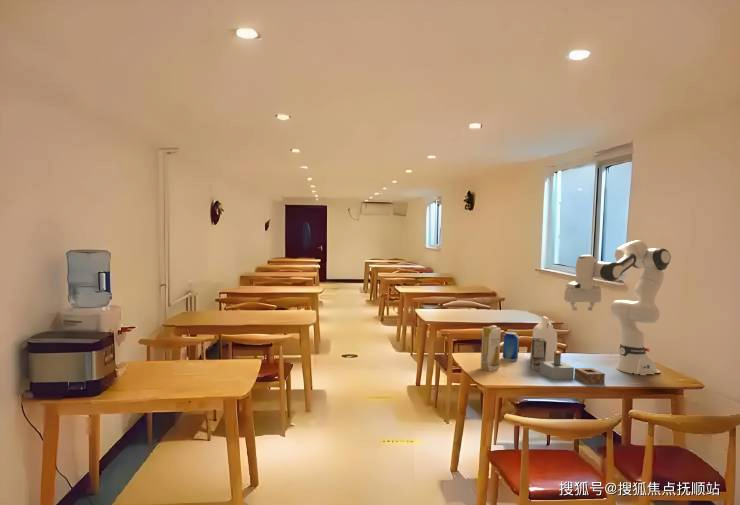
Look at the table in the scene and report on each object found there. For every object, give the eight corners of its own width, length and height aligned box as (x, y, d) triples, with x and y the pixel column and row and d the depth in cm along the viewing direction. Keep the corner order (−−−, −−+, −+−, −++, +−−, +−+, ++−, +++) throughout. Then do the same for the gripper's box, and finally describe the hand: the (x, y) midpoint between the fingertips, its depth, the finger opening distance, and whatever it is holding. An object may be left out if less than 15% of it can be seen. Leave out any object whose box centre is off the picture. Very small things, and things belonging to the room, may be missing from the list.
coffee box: (544, 371, 254) (546, 342, 254) (532, 370, 256) (534, 341, 255) (542, 366, 263) (543, 338, 263) (530, 365, 265) (531, 337, 264)
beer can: (519, 359, 277) (520, 332, 276) (515, 362, 270) (516, 335, 269) (504, 357, 282) (506, 330, 281) (500, 359, 274) (502, 332, 274)
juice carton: (490, 372, 249) (492, 327, 248) (478, 368, 255) (480, 324, 254) (500, 369, 255) (503, 325, 254) (488, 365, 261) (491, 323, 260)
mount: (591, 377, 247) (591, 367, 247) (604, 383, 237) (604, 373, 237) (574, 377, 245) (574, 368, 245) (586, 384, 235) (587, 374, 235)
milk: (530, 358, 282) (532, 315, 281) (549, 358, 281) (552, 316, 280) (536, 363, 270) (539, 318, 269) (556, 364, 269) (559, 319, 268)
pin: (557, 374, 249) (558, 350, 249) (561, 376, 246) (563, 352, 245) (551, 374, 249) (552, 350, 248) (555, 376, 245) (556, 352, 244)
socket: (559, 372, 254) (560, 361, 254) (573, 379, 243) (573, 367, 242) (539, 372, 252) (540, 361, 252) (552, 379, 240) (552, 368, 240)
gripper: (596, 284, 257) (595, 309, 258) (563, 283, 253) (561, 309, 254) (604, 285, 251) (603, 311, 252) (570, 285, 247) (569, 311, 248)
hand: (582, 310), depth 253 cm, fingers open, 8 cm apart
